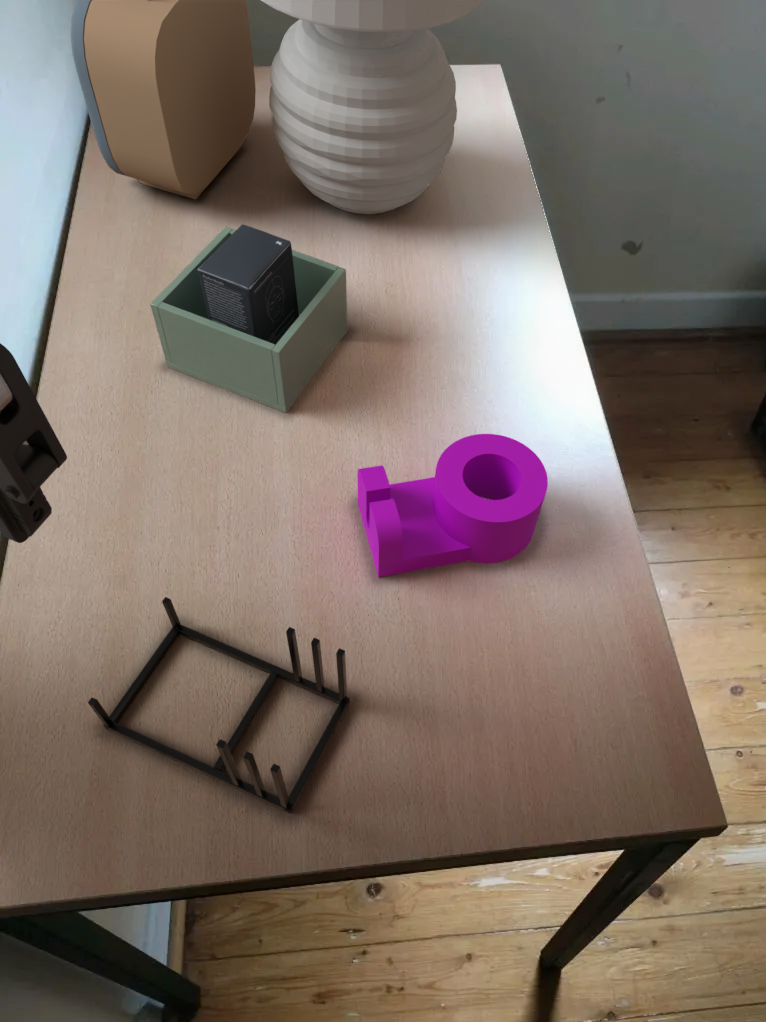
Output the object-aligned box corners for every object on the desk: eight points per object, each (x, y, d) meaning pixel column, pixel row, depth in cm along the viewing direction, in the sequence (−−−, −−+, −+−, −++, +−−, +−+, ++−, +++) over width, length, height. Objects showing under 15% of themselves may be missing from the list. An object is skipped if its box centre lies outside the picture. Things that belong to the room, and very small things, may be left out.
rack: (105, 728, 62) (68, 679, 54) (177, 626, 67) (153, 567, 59) (290, 814, 60) (279, 774, 52) (350, 702, 65) (348, 651, 57)
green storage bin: (167, 366, 82) (149, 303, 75) (236, 289, 89) (226, 225, 82) (286, 413, 80) (278, 352, 73) (347, 330, 87) (346, 268, 80)
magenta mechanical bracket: (516, 470, 79) (527, 426, 74) (549, 552, 74) (563, 511, 69) (356, 497, 76) (355, 452, 70) (380, 584, 71) (381, 544, 66)
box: (254, 311, 86) (241, 221, 77) (301, 330, 85) (293, 241, 76) (214, 356, 82) (195, 267, 73) (262, 376, 81) (249, 288, 72)
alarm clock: (193, 115, 105) (156, -91, 87) (261, 134, 104) (238, -70, 86) (111, 201, 95) (49, -13, 76) (185, 222, 94) (141, 12, 75)
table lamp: (252, 246, 93) (185, -241, 59) (269, 124, 106) (223, -334, 71) (469, 258, 95) (527, -203, 61) (460, 137, 108) (504, -299, 74)
